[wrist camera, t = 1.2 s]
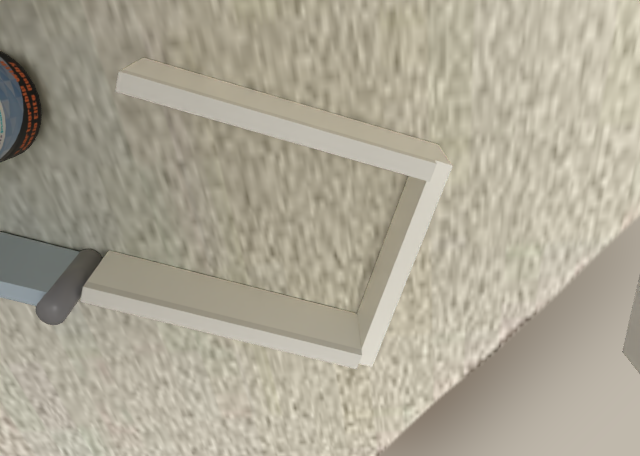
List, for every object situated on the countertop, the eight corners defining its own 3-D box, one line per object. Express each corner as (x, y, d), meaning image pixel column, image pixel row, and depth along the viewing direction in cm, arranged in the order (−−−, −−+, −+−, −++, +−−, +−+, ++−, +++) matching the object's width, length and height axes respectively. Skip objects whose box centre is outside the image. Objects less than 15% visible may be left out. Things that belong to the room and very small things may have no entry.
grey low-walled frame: (106, 264, 38) (80, 301, 34) (143, 57, 33) (118, 71, 29) (366, 329, 40) (373, 373, 36) (438, 144, 35) (455, 169, 31)
